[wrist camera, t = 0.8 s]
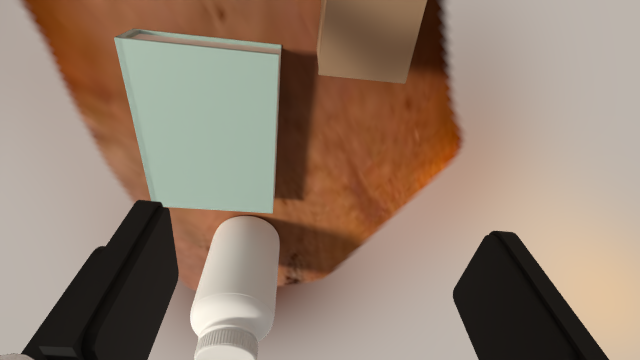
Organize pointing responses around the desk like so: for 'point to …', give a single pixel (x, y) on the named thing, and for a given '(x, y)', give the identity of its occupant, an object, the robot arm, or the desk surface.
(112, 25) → the desk surface
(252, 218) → the pill bottle
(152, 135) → the book
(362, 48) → the walnut block
